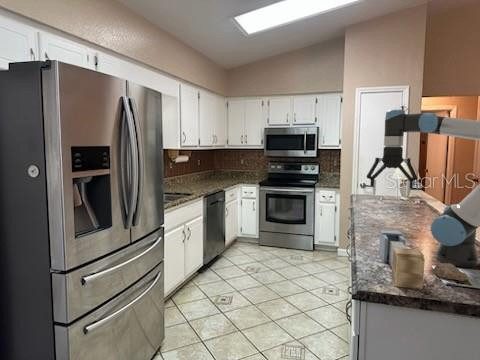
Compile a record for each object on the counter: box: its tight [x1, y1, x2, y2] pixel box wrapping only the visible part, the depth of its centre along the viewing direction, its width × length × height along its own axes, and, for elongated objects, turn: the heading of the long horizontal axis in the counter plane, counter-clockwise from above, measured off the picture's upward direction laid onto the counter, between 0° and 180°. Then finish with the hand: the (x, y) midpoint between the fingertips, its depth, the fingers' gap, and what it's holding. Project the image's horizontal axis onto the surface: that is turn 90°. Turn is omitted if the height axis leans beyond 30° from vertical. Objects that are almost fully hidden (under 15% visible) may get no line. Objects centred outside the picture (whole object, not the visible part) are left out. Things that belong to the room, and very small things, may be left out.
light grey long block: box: [388, 241, 408, 268], centre depth 127 cm, size 5×18×9 cm, turn 167°
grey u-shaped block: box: [378, 229, 406, 263], centre depth 142 cm, size 8×11×11 cm
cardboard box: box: [391, 248, 425, 290], centre depth 117 cm, size 8×7×12 cm
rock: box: [432, 262, 470, 282], centre depth 123 cm, size 9×6×10 cm
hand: (390, 195), depth 145 cm, fingers open, 13 cm apart
